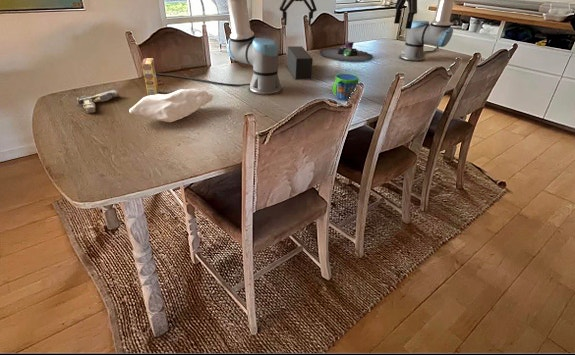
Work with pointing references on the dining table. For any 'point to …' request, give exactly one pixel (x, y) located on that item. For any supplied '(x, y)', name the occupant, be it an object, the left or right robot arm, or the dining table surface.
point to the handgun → (95, 100)
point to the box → (299, 62)
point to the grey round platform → (346, 53)
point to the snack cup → (344, 85)
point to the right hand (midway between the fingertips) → (402, 26)
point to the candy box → (150, 76)
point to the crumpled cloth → (171, 104)
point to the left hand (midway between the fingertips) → (297, 24)
